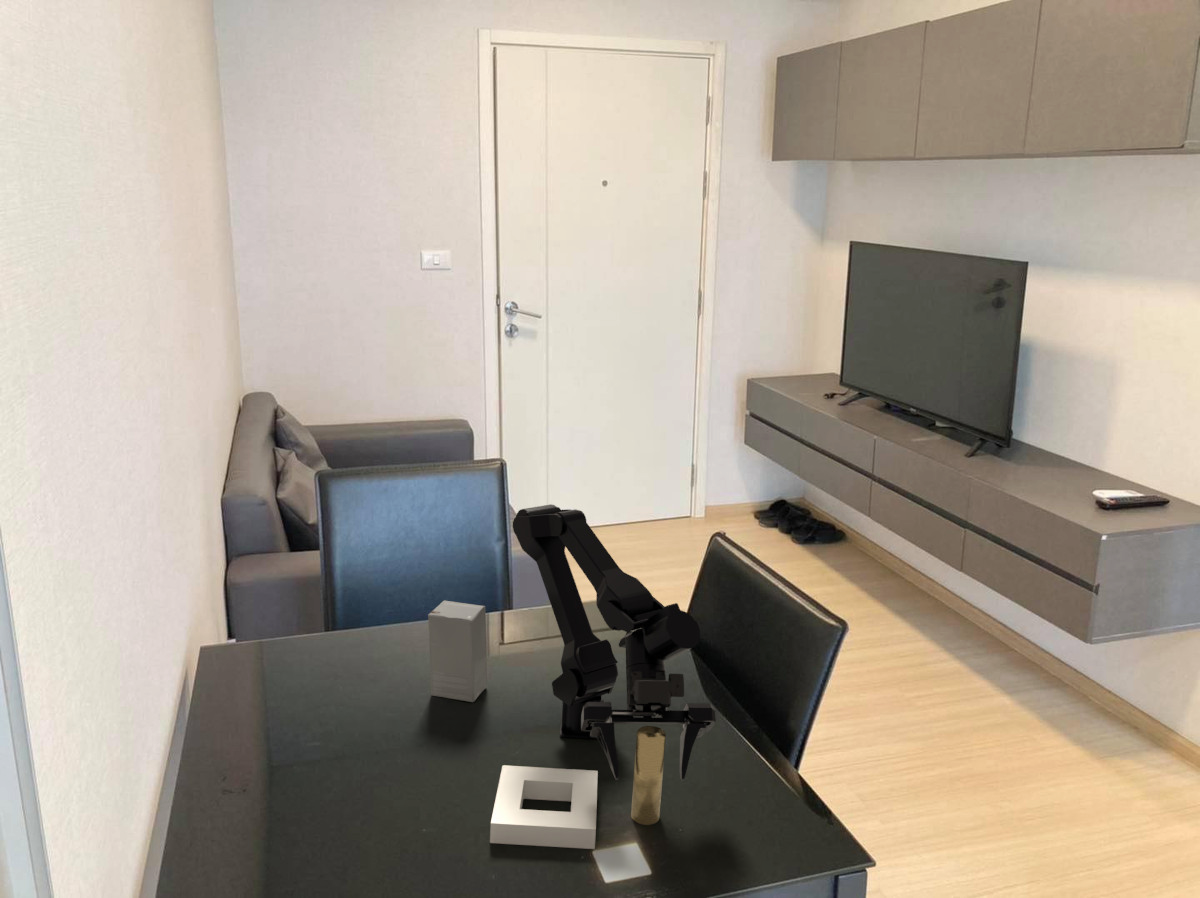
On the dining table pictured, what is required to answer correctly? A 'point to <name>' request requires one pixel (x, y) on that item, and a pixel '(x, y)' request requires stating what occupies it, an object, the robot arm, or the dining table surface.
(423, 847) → the dining table surface
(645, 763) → the brass tube
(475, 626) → the skincare box
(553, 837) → the socket block
